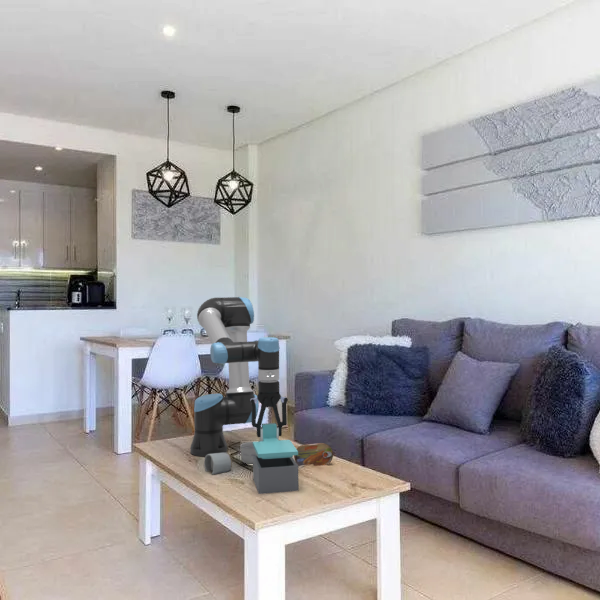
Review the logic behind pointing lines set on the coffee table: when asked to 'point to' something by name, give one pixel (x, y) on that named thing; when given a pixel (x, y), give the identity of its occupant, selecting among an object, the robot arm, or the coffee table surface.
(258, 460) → the tub
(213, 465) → the ceramic mug
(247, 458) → the teacup
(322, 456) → the tin
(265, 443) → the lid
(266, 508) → the coffee table surface
